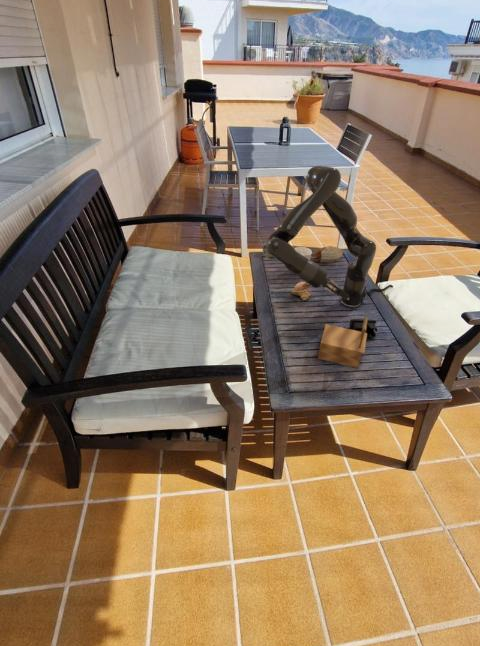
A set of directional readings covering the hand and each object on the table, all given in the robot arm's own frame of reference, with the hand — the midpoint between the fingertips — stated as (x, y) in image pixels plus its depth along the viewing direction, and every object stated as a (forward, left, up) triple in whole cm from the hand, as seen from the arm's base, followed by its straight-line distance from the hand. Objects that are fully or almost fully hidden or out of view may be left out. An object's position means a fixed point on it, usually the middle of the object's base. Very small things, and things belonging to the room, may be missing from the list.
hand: (347, 297), depth 146 cm
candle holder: (-17, -60, -24) cm, 66 cm away
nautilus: (-36, -67, -24) cm, 79 cm away
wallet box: (+1, +4, -24) cm, 24 cm away
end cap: (-15, -3, -24) cm, 28 cm away
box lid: (+1, +5, -17) cm, 17 cm away
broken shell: (-5, -38, -24) cm, 45 cm away
